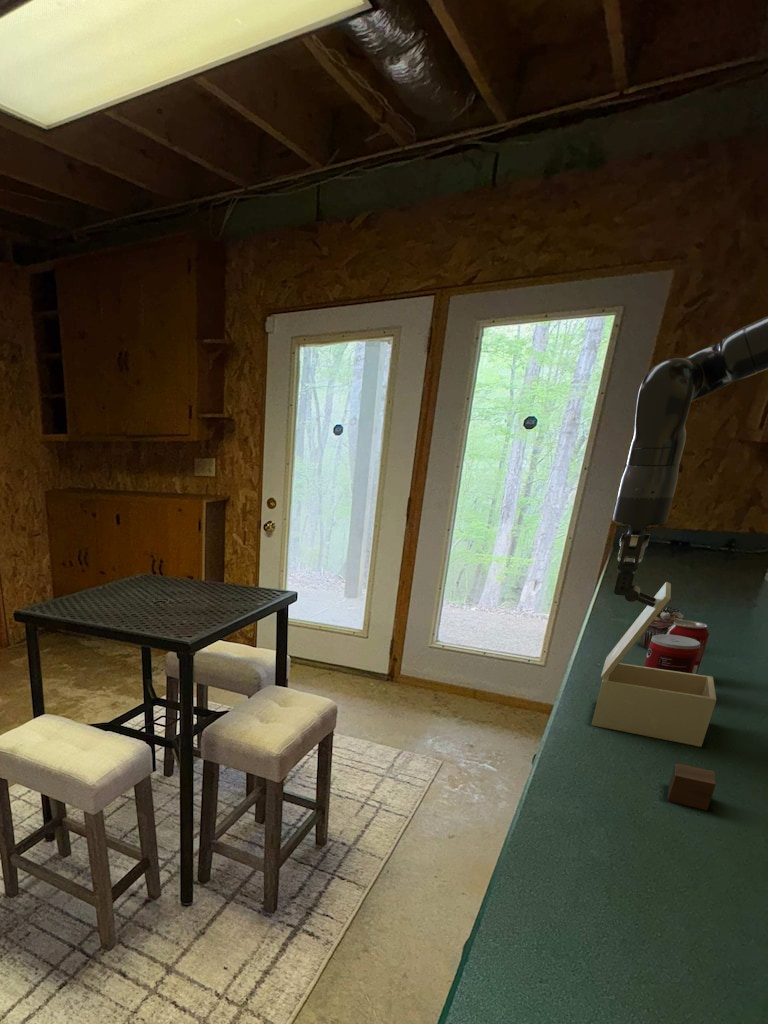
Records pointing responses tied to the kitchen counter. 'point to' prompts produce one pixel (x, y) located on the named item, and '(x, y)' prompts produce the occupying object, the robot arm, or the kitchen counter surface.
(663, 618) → the cupcake
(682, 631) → the soda can
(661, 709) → the bin
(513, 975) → the kitchen counter surface
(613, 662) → the bin lid
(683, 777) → the block
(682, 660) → the canned food
